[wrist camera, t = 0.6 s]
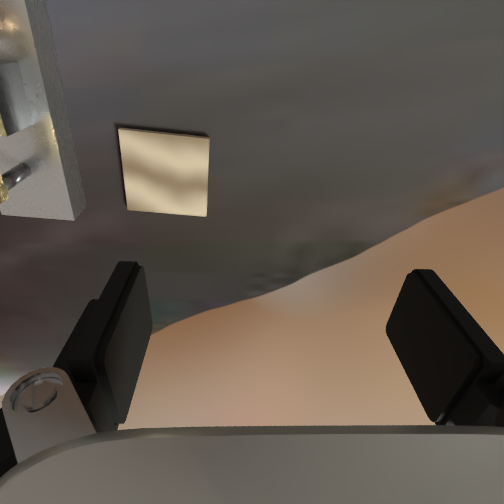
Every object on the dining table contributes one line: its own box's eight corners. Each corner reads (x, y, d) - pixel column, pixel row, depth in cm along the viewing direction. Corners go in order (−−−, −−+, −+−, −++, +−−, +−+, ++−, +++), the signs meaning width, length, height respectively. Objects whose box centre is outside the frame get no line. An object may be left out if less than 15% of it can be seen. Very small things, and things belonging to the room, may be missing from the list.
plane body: (-53, -22, 31) (-146, -38, 24) (43, -9, 32) (-17, -20, 25) (19, 201, 45) (-26, 235, 37) (86, 206, 46) (55, 241, 38)
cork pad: (120, 127, 40) (118, 129, 39) (209, 137, 41) (209, 138, 40) (129, 207, 46) (127, 209, 45) (206, 213, 47) (206, 216, 46)
